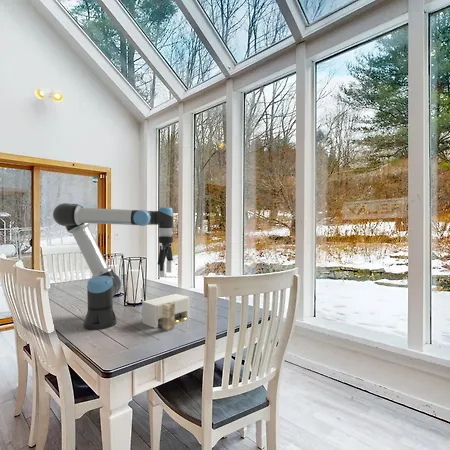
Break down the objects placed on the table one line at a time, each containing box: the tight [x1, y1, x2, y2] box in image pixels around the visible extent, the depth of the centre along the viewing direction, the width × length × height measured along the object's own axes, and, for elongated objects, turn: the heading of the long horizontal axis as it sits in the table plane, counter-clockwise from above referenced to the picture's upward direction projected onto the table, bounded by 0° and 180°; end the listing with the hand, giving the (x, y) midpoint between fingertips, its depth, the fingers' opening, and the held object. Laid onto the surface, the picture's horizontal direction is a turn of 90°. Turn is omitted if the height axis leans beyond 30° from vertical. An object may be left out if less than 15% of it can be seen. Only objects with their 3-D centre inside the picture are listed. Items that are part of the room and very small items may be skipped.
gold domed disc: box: [178, 316, 188, 322], centre depth 167 cm, size 4×4×1 cm
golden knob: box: [174, 318, 180, 325], centre depth 163 cm, size 4×4×1 cm
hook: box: [158, 303, 181, 332], centre depth 160 cm, size 17×12×12 cm
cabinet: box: [141, 293, 191, 329], centre depth 165 cm, size 22×11×11 cm, turn 138°
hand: (165, 274), depth 174 cm, fingers open, 13 cm apart
